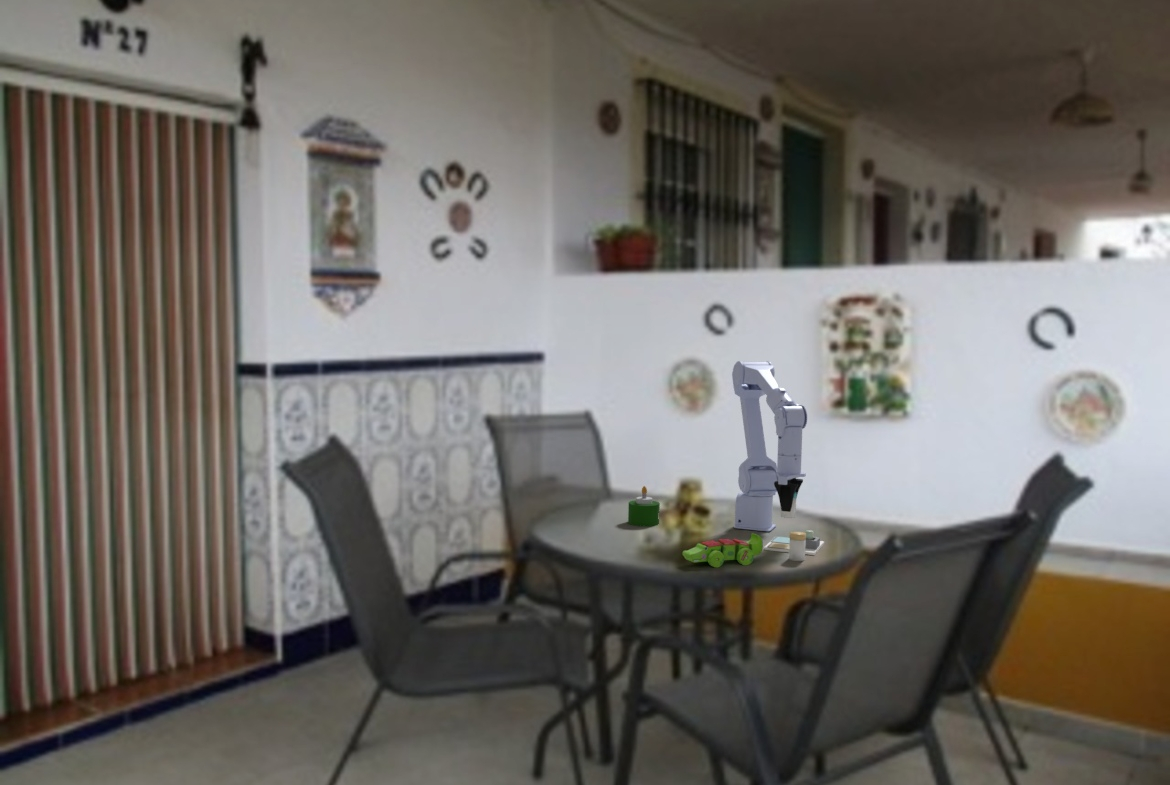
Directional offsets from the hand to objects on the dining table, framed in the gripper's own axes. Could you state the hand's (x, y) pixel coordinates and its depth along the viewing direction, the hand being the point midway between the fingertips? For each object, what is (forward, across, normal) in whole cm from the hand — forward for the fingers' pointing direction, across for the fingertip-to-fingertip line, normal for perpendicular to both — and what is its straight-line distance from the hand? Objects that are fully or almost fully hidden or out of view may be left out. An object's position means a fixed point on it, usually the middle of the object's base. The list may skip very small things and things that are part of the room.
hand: (787, 509), depth 244 cm
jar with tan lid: (+8, -15, -6) cm, 18 cm away
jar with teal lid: (+2, 0, 0) cm, 2 cm away
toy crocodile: (+9, -26, +9) cm, 29 cm away
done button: (+6, -4, -6) cm, 10 cm away
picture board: (+8, -3, -2) cm, 9 cm away
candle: (+9, +6, +40) cm, 41 cm away
